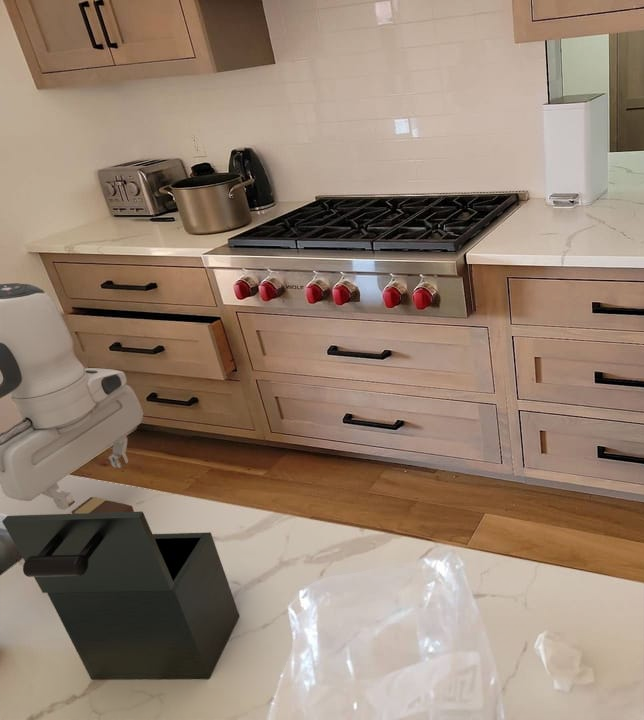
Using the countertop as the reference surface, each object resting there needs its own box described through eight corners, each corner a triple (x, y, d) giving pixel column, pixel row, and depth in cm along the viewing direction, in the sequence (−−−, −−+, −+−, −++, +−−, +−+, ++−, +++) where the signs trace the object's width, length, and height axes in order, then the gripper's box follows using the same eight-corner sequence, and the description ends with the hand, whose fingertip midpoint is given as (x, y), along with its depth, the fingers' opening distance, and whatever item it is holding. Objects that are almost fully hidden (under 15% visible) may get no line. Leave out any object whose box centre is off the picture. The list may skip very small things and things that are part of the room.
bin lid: (7, 515, 64) (-33, 556, 60) (142, 511, 63) (112, 552, 58) (47, 586, 69) (13, 629, 64) (174, 584, 67) (149, 628, 63)
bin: (132, 617, 82) (95, 535, 76) (239, 616, 80) (210, 532, 75) (90, 679, 74) (46, 593, 69) (209, 679, 73) (174, 590, 67)
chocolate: (138, 521, 99) (132, 504, 97) (119, 538, 96) (112, 521, 94) (98, 512, 102) (91, 496, 100) (78, 528, 99) (70, 511, 97)
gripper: (0, 447, 80) (46, 537, 86) (133, 366, 97) (164, 447, 103) (-36, 441, 82) (12, 529, 88) (100, 363, 99) (132, 442, 105)
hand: (94, 484), depth 96 cm, fingers open, 8 cm apart
